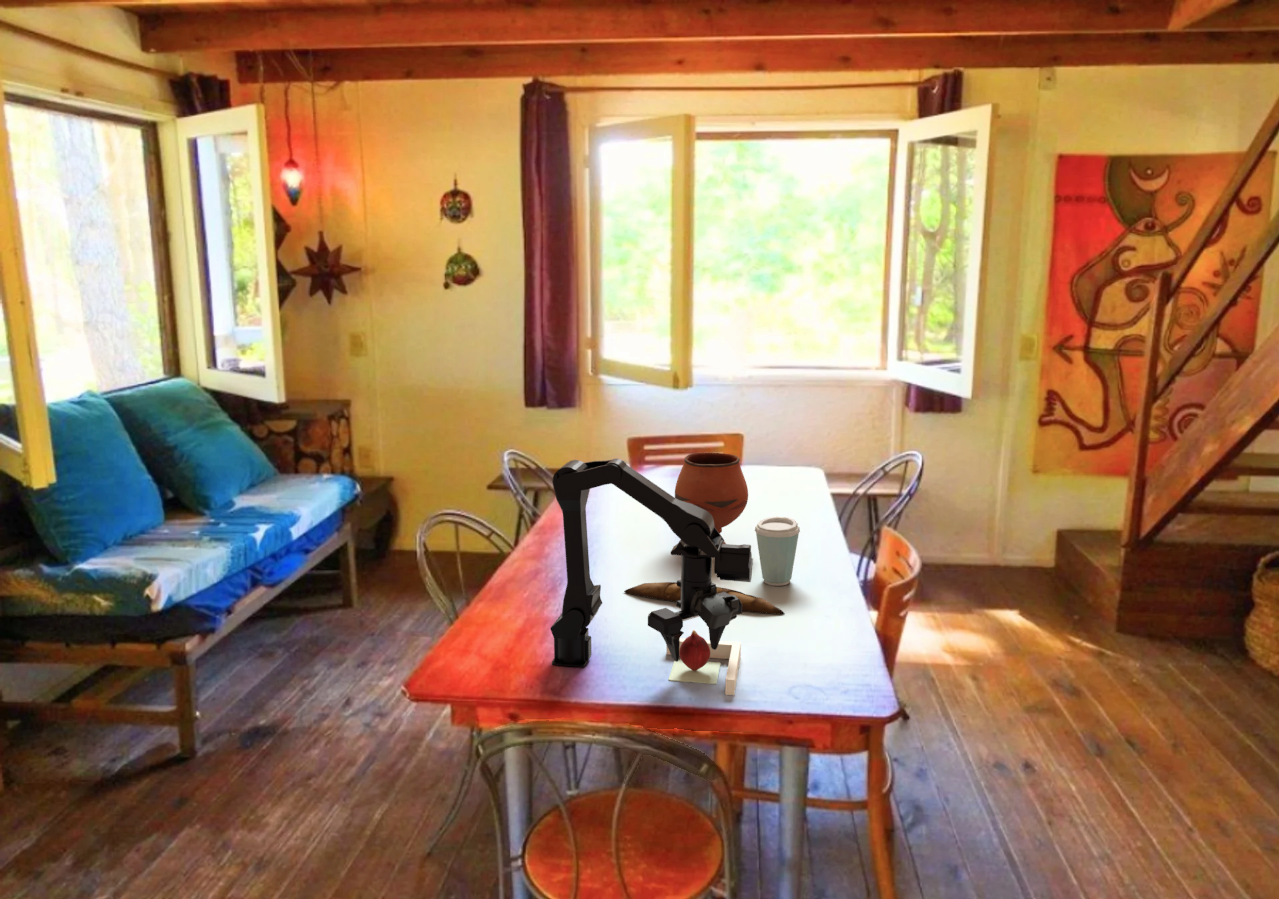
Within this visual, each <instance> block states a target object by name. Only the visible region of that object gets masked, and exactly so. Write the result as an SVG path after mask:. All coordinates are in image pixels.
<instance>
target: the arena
mask: <svg viewBox="0 0 1279 899" xmlns="http://www.w3.org/2000/svg"><path fill="white" fill-rule="evenodd" d="M686 638H687V637H686ZM686 638H684V637H680V643H679V656H680V646H681V644H682V643H683V641H684V640H685V639H686ZM705 641H706V642H707V644H708V646H709V648H710V658H709V659H711V658H712V659H723V660H728V665H727V671H726V676H725V693H724V694H725V695H726V696H735V692H736V686H737V679H738V674H739V669H740V662H741V656H742V655H741V654H742V653H741V650H742V647H741V646H742V642H740V641H725V640H720V641H719V644H718V646H717V649H715V650H714V649H712V648H711V644H710V639H705ZM665 650H666V653H665V654H666V655H669V656H670V655H671V653H670V651H669V649H668V647H667V646H666V649H665ZM671 656H672V655H671ZM721 664H722V663H721V662H719V661H708V662H707V663H706V664H705V665H704V666H703V667H701V668H700V669H698V670H696V671H693V670H691V669H690V668H688V667H687V666H686V665H685V664H684V663H683V662H682V660H681V658H679V660H678V661H677V662H676V661H674V660H673V663H672V668H671V671H670V673H669V676H668V681H670V682H684V683H696V684H707V685H708V684H709V685H717V682H718V678H719V672H720V668H721Z"/></svg>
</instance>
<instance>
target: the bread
mask: <svg viewBox="0 0 1279 899" xmlns="http://www.w3.org/2000/svg"><path fill="white" fill-rule="evenodd" d="M716 587H717V594H718V593H722V592H726V593H728V594H730V595H735V596H736V597H737V598H739V599H740V601H741V603H742V612H747V613H754V614H755V613H756V614H765V613H766V614H768V615H769V614H770V615H785V612H784V611H783V610H782V609H780V608H778V607H777V606H775V605H774V604H772V603H771V602H769V601H767V600H766V599H765V598H761V597H758V596H755V595H751V594H747V593H743V592H742V591H738V590H736V589H735V590H734V589H731V588H727V587H719V586H716ZM624 593H625V594H629V595H633V596H638V597H642V598H648V599H652V600H653V599H654V600H660V601H666V602H673V603H677V601H679V600H681V587H679V586H677V581H669V582H668V581H666V582H665V581H663V582H662V581H661V582H646V583H641V584H638V585H636V586H633V587H629V588H628V589H627V588H626V590H624Z"/></svg>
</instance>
